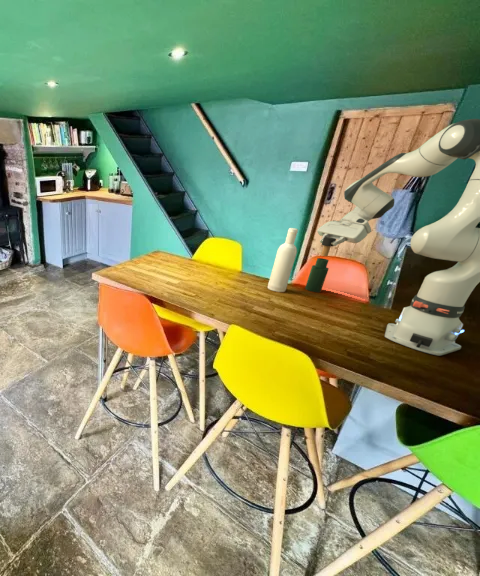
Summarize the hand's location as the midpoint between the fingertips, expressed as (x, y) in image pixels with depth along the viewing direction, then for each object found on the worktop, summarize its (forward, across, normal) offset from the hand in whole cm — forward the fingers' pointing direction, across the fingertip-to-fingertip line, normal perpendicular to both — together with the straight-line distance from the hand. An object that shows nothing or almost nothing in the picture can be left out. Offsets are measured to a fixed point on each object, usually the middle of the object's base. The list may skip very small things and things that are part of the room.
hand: (327, 243), depth 143 cm
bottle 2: (+16, 0, +17) cm, 24 cm away
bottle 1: (+31, -1, +3) cm, 31 cm away
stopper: (+4, 0, +5) cm, 6 cm away
